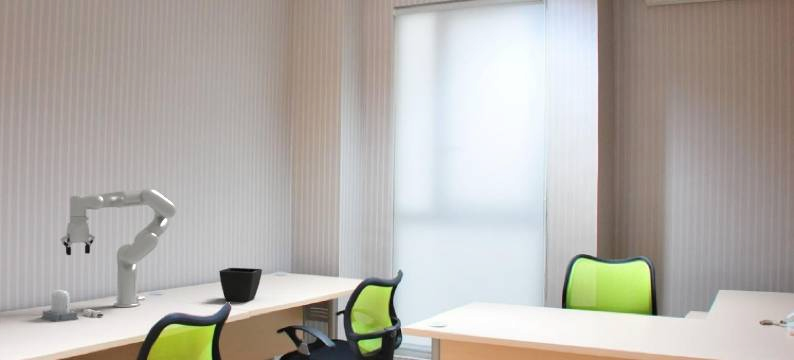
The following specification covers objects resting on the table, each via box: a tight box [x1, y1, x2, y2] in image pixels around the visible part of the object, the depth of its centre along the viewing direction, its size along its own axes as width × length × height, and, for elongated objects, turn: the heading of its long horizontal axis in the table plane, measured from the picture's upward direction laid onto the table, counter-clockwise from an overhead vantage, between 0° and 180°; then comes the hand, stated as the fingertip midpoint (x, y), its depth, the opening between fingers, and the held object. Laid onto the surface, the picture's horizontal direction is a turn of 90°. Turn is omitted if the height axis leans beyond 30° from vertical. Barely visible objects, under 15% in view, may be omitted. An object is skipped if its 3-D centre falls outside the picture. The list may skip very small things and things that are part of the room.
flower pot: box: [219, 267, 263, 303], centre depth 401 cm, size 19×19×17 cm
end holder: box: [41, 309, 79, 323], centre depth 335 cm, size 10×15×3 cm, turn 51°
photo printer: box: [50, 289, 71, 314], centre depth 336 cm, size 10×4×12 cm, turn 57°
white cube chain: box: [83, 308, 104, 318], centre depth 344 cm, size 4×13×2 cm, turn 51°
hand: (78, 254), depth 362 cm, fingers open, 9 cm apart
